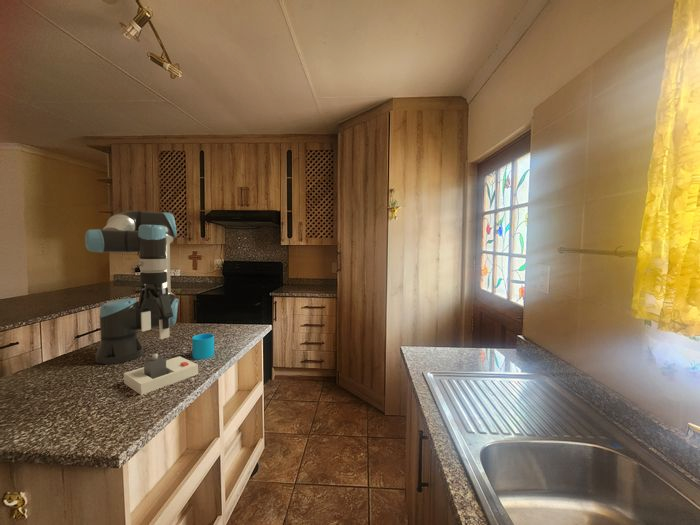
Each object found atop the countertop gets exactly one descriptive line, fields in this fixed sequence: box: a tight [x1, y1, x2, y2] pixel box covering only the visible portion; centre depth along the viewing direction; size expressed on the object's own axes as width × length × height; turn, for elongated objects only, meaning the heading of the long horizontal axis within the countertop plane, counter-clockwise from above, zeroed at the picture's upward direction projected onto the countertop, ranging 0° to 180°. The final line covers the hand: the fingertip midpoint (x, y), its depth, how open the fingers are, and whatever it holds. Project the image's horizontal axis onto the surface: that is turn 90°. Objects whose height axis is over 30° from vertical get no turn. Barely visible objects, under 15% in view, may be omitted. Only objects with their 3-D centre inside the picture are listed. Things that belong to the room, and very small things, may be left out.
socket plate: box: [123, 355, 199, 396], centre depth 101 cm, size 13×18×4 cm
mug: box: [191, 333, 215, 360], centre depth 124 cm, size 12×8×8 cm
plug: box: [143, 352, 167, 379], centre depth 99 cm, size 5×5×9 cm
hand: (155, 334), depth 99 cm, fingers open, 12 cm apart
